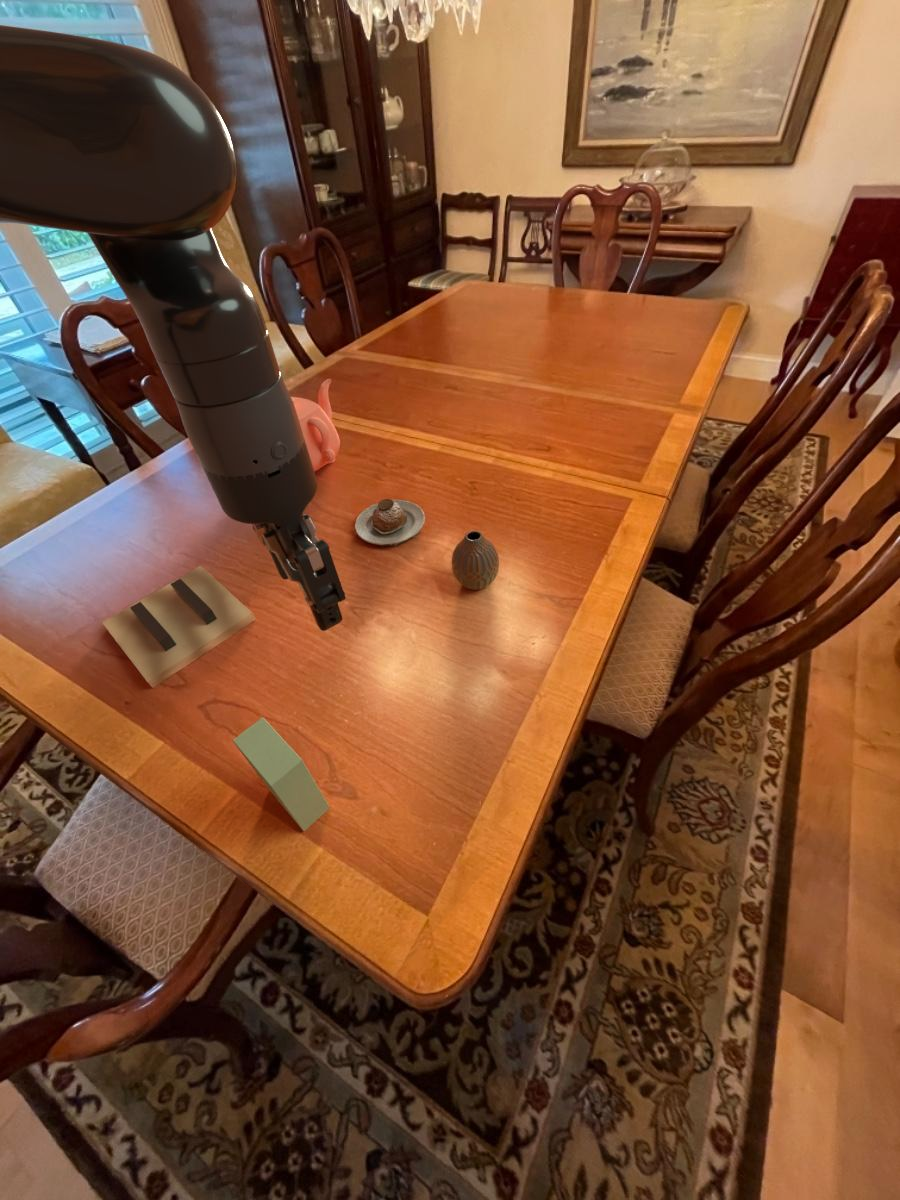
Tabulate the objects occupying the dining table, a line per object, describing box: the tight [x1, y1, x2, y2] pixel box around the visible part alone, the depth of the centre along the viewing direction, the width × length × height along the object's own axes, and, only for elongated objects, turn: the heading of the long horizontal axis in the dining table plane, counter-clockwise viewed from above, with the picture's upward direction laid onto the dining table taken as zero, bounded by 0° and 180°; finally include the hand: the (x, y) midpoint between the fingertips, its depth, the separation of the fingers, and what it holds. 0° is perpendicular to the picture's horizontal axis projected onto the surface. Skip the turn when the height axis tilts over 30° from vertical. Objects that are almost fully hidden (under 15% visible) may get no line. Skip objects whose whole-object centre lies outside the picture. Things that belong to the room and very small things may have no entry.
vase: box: [451, 529, 500, 591], centre depth 77 cm, size 7×7×9 cm
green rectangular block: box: [232, 716, 331, 832], centre depth 55 cm, size 4×7×11 cm, turn 46°
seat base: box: [101, 565, 256, 689], centre depth 78 cm, size 16×16×4 cm
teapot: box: [291, 378, 341, 473], centre depth 103 cm, size 16×17×14 cm
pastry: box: [354, 498, 426, 547], centre depth 90 cm, size 12×12×5 cm
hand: (310, 598), depth 50 cm, fingers open, 8 cm apart
